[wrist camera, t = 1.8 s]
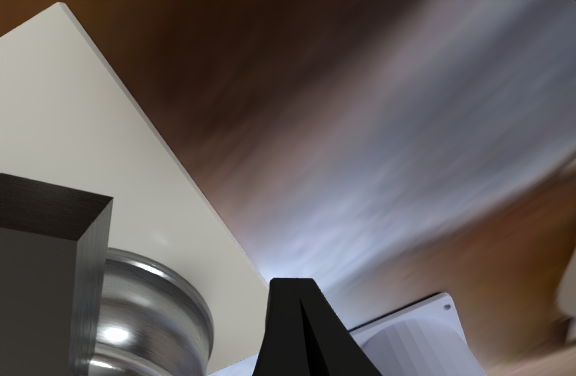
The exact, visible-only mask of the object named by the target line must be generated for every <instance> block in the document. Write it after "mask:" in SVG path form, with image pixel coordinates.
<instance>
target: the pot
mask: <svg viewBox="0 0 576 376" xmlns="http://www.w3.org/2000/svg"><path fill="white" fill-rule="evenodd" d="M96 343H100V344H104V345H108V346H112V347H115V348H118V349H121V350H124V351H127V352H130V353H132V354H135V355H137V356H139V357H141V358H144V359H146V360H148V361H150V362H152V363H154V364H156V365H157V366H159V367H161V368H163V369H164V370H166V371H168V372H169V373H170V374H172V375H173V376H206V372H207V364H208V361H209V359H210V357H211V353H212V349H213V343H214V322H213V318H212V315H211V312H210V309H209V307H208V305H207V303H206V302H205V300H204V298H203V297H202V296H201V294H200V293H199V292H198V291H197V289H196V288H195V287H194V286H193V285H192V284H190V283H189V282H188V281H187V280H186V279H185V278H183V277H182V276H181V275H179V274H178V273H177V272H175V271H174V270H172V269H170V268H169V267H167V266H165V265H163V264H161V263H159V262H157V261H155V260H153V259H150V258H148V257H145V256H142V255H139V254H136V253H133V252H130V251H126V250H121V249H117V248H111V247H108V248H107V256H106V264H105V272H104V280H103V288H102V296H101V305H100V313H99V321H98V329H97V337H96Z"/></svg>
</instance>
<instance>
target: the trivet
mask: <svg viewBox="0 0 576 376" xmlns="http://www.w3.org/2000/svg"><path fill="white" fill-rule="evenodd" d="M0 173H5V174H10V175H14V176H19V177H24V178H28V179H33V180H37V181H42V182H46V183H51V184H56V185H60V186H65V187H69V188H74V189H79V190H83V191H88V192H92V193H97V194H101V195H106V196H111V197H114V199H113V207H112V215H111V223H110V231H109V239H108V247H111V248H117V249H121V250H126V251H130V252H133V253H136V254H139V255H142V256H145V257H148V258H150V259H153V260H155V261H157V262H159V263H161V264H163V265H165V266H167V267H169V268H170V269H172V270H174V271H175V272H177V273H178V274H179V275H181V276H182V277H183V278H185V279H186V280H187V281H188V282H189V283H190V284H192V285H193V286H194V287H195V288H196V289H197V291H198V292H199V293H200V294H201V296H202V297H203V298H204V300H205V302H206V303H207V305H208V307H209V309H210V312H211V315H212V318H213V322H214V343H213V349H212V353H211V357H210V359H209V361H208V364H207V372H206V376H207V375H209V374H211V373H213V372H216V371H218V370H220V369H223V368H225V367H227V366H229V365H232V364H234V363H236V362H239V361H241V360H243V359H245V358H248V357H250V356H252V355H255V354H257V353H259V352H260V348H261V345H262V341H263V337H264V333H265V318H266V310H267V302H268V293H269V285H268V283H267V282H266V281H265V279H264V278H263V276H262V275H261V274H260V272H259V271H258V270H257V268H256V267H255V265H254V264H253V263H252V261H251V260H250V258H249V257H248V256H247V254H246V253H245V252H244V250H243V249H242V247H241V246H240V245H239V243H238V242H237V240H236V239H235V238H234V236H233V235H232V234H231V232H230V231H229V229H228V228H227V227H226V225H225V224H224V222H223V221H222V220H221V218H220V217H219V216H218V214H217V213H216V211H215V210H214V209H213V207H212V206H211V204H210V203H209V202H208V200H207V199H206V198H205V196H204V195H203V193H202V192H201V191H200V189H199V188H198V186H197V185H196V184H195V182H194V181H193V180H192V178H191V177H190V175H189V174H188V173H187V171H186V170H185V169H184V167H183V166H182V164H181V163H180V162H179V160H178V159H177V157H176V156H175V155H174V153H173V152H172V151H171V149H170V148H169V146H168V145H167V144H166V142H165V141H164V139H163V138H162V137H161V135H160V134H159V133H158V131H157V130H156V128H155V127H154V126H153V124H152V123H151V121H150V120H149V119H148V117H147V116H146V115H145V113H144V112H143V110H142V109H141V108H140V106H139V105H138V103H137V102H136V101H135V99H134V98H133V97H132V95H131V94H130V92H129V91H128V90H127V88H126V87H125V85H124V84H123V83H122V81H121V80H120V79H119V77H118V76H117V74H116V73H115V72H114V70H113V69H112V67H111V66H110V65H109V63H108V62H107V61H106V59H105V58H104V56H103V55H102V54H101V52H100V51H99V49H98V48H97V47H96V45H95V44H94V43H93V41H92V40H91V38H90V37H89V36H88V34H87V33H86V31H85V30H84V29H83V27H82V26H81V25H80V23H79V22H78V20H77V19H76V18H75V16H74V15H73V14H72V12H71V11H70V9H69V8H68V7H67V5H66V4H65V3H60V2H57V3H56V4H54V5H52V6H51V7H49V8H47V9H46V10H44V11H43V12H41V13H39V14H38V15H36V16H35V17H33V18H31V19H30V20H28V21H26V22H25V23H23V24H22V25H20V26H18V27H17V28H15V29H13V30H12V31H10V32H9V33H7V34H5V35H4V36H2V37H0Z"/></svg>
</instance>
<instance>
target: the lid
mask: <svg viewBox="0 0 576 376" xmlns="http://www.w3.org/2000/svg"><path fill="white" fill-rule="evenodd" d="M113 199H114V197H111V196H106V195H101V194H97V193H92V192H88V191H83V190H79V189H74V188H69V187H65V186H60V185H56V184H51V183H46V182H42V181H37V180H33V179H28V178H24V177H19V176H14V175H10V174H5V173H0V376H173V375H172V374H170V373H169V372H168V371H166V370H164V369H163V368H161V367H159V366H157V365H156V364H154V363H152V362H150V361H148V360H146V359H144V358H141V357H139V356H137V355H135V354H132V353H130V352H127V351H124V350H121V349H118V348H115V347H112V346H108V345H104V344H100V343H96V337H97V329H98V321H99V313H100V305H101V296H102V288H103V280H104V272H105V264H106V256H107V248H108V239H109V231H110V223H111V215H112V207H113Z"/></svg>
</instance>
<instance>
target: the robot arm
mask: <svg viewBox="0 0 576 376" xmlns="http://www.w3.org/2000/svg"><path fill="white" fill-rule="evenodd" d="M252 376H488V375H487V374H486V372H485V371H484V370H483V368H482V367H481V365H480V364H479V362H478V361H477V360H476V358H475V357H474V355H473V354H472V352H471V351H470V350H469V348H468V345H467V342H466V339H465V336H464V333H463V330H462V327H461V324H460V321H459V318H458V315H457V312H456V309H455V306H454V303H453V300H452V298H451V296H450V295H449V294H448V293H440V294H438V295H435V296H433V297H431V298H428V299H426V300H424V301H421V302H419V303H417V304H414V305H412V306H410V307H408V308H405V309H403V310H401V311H398V312H396V313H394V314H391V315H389V316H387V317H384V318H382V319H380V320H377V321H375V322H373V323H370V324H368V325H366V326H363V327H361V328H359V329H356V330H354V331H352V332H348V330H347V329H346V328H345V326H344V325H343V324H342V322H341V321H340V319H339V318H338V316H337V315H336V313H335V312H334V310H333V309H332V307H331V306H330V304H329V303H328V301H327V300H326V298H325V297H324V295H323V294H322V292H321V290H320V289H319V287H318V285H317V284H316V282H315V281H314V280H313V279H312V278H273V279H272V280H270V285H269V293H268V302H267V310H266V318H265V333H264V337H263V341H262V345H261V348H260V352H259V355H258V359H257V362H256V366H255V369H254V372H253V375H252Z"/></svg>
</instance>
